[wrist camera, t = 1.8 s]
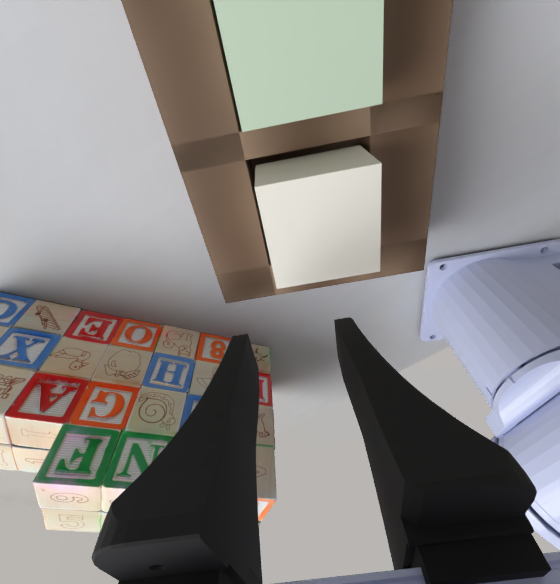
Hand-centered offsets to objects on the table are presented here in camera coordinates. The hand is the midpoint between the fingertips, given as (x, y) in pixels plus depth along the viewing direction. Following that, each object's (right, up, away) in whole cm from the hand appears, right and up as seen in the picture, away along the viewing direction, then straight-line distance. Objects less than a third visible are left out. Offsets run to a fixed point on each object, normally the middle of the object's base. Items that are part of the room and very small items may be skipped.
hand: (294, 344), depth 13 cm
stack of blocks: (-12, -2, +14) cm, 19 cm away
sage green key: (0, +12, 0) cm, 12 cm away
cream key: (+1, +7, +4) cm, 8 cm away
